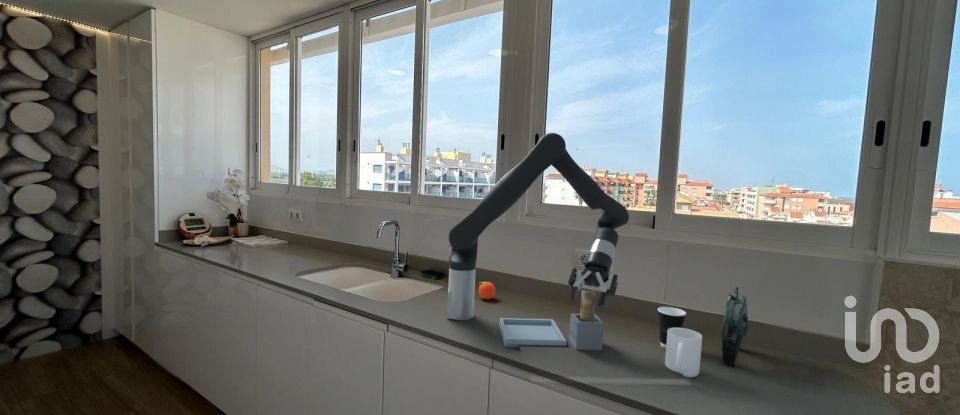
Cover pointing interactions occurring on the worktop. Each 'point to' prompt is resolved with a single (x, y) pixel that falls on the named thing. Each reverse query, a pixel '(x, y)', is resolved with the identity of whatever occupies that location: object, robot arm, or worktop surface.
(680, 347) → the mug
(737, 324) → the dark green tall piece
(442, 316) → the worktop surface
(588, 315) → the pin
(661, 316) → the dixie cup
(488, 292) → the clementine
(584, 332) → the light blue hollow box
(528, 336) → the tray
